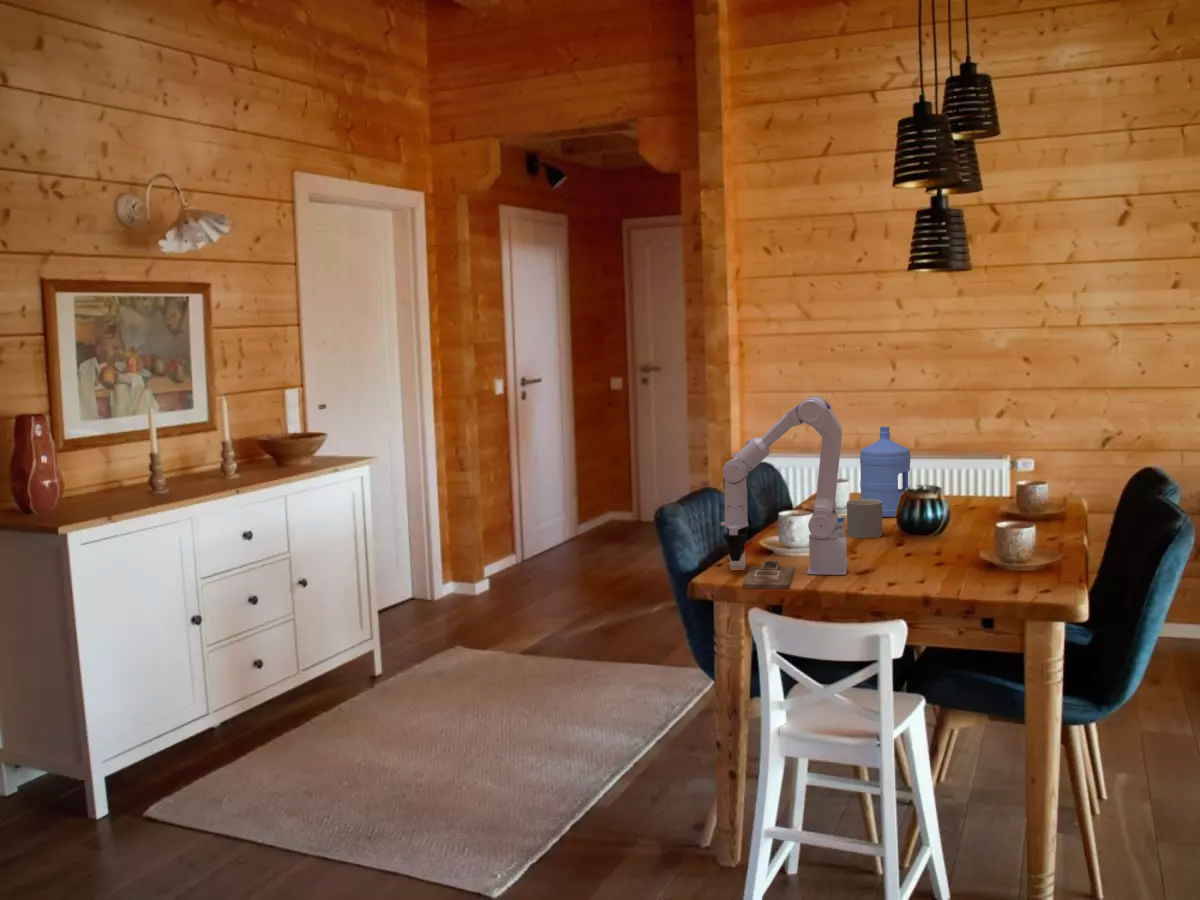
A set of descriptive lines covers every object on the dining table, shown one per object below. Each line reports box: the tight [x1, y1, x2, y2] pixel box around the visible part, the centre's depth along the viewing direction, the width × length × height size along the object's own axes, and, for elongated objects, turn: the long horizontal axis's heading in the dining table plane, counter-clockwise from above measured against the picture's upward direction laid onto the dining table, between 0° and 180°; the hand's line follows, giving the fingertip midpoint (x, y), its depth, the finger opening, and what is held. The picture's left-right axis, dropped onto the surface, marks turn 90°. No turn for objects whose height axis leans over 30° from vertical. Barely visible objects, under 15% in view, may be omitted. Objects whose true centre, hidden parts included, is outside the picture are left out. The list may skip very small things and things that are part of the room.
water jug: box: [859, 426, 911, 517], centre depth 364 cm, size 16×16×28 cm
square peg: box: [729, 550, 746, 571], centre depth 294 cm, size 4×4×4 cm
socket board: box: [741, 560, 795, 590], centre depth 281 cm, size 11×20×2 cm, turn 167°
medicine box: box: [834, 515, 846, 538], centre depth 315 cm, size 8×4×9 cm, turn 105°
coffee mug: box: [846, 498, 883, 539], centre depth 332 cm, size 13×10×10 cm
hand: (737, 557), depth 294 cm, fingers open, 7 cm apart
